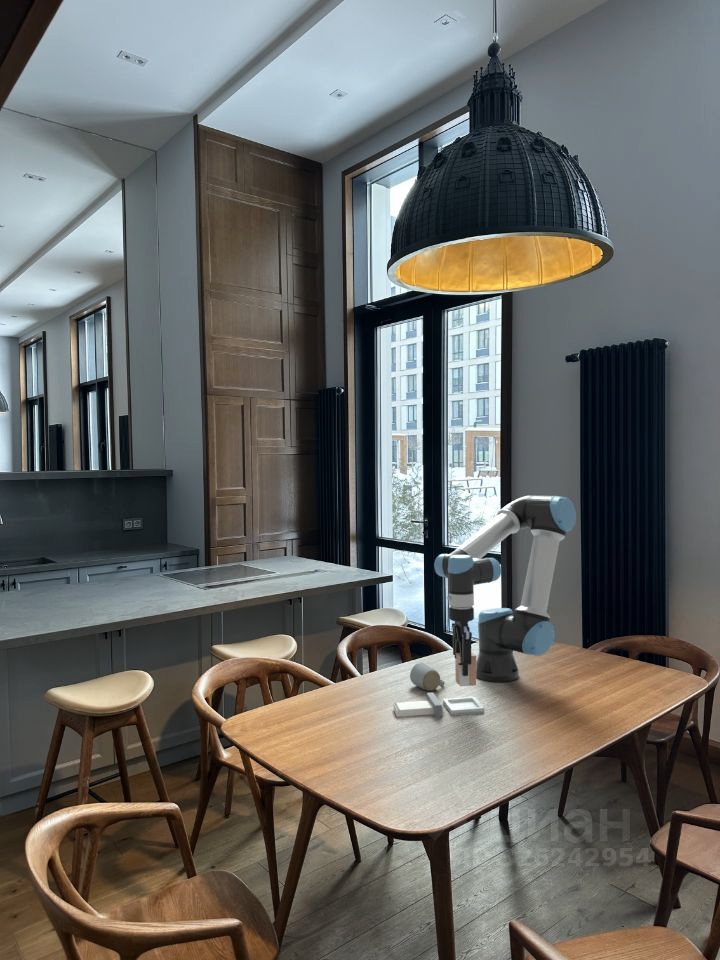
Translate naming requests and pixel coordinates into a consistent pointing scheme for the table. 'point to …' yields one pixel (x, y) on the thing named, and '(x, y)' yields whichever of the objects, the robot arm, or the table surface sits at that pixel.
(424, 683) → the ceramic mug
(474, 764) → the table surface
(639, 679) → the table surface
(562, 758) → the table surface
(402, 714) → the white grey t-shaped block
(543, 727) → the table surface
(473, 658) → the stub
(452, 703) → the stub tray
